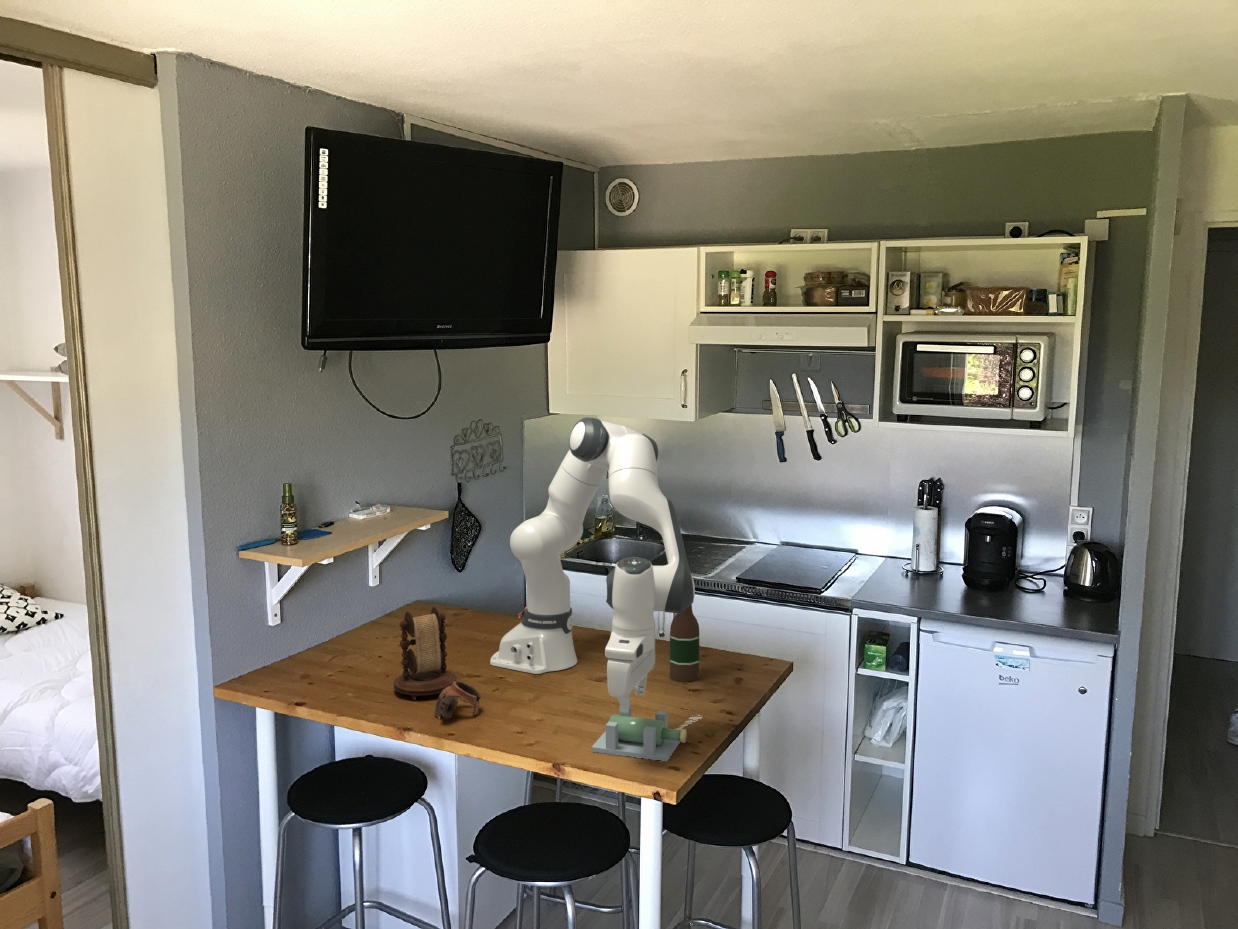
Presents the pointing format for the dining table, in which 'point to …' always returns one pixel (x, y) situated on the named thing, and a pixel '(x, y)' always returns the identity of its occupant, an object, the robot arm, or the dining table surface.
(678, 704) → the dining table surface
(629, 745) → the rest
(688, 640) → the beer bottle
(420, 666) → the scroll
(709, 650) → the dining table surface
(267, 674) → the dining table surface
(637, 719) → the bottle
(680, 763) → the dining table surface
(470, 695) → the brown ring shaped device
